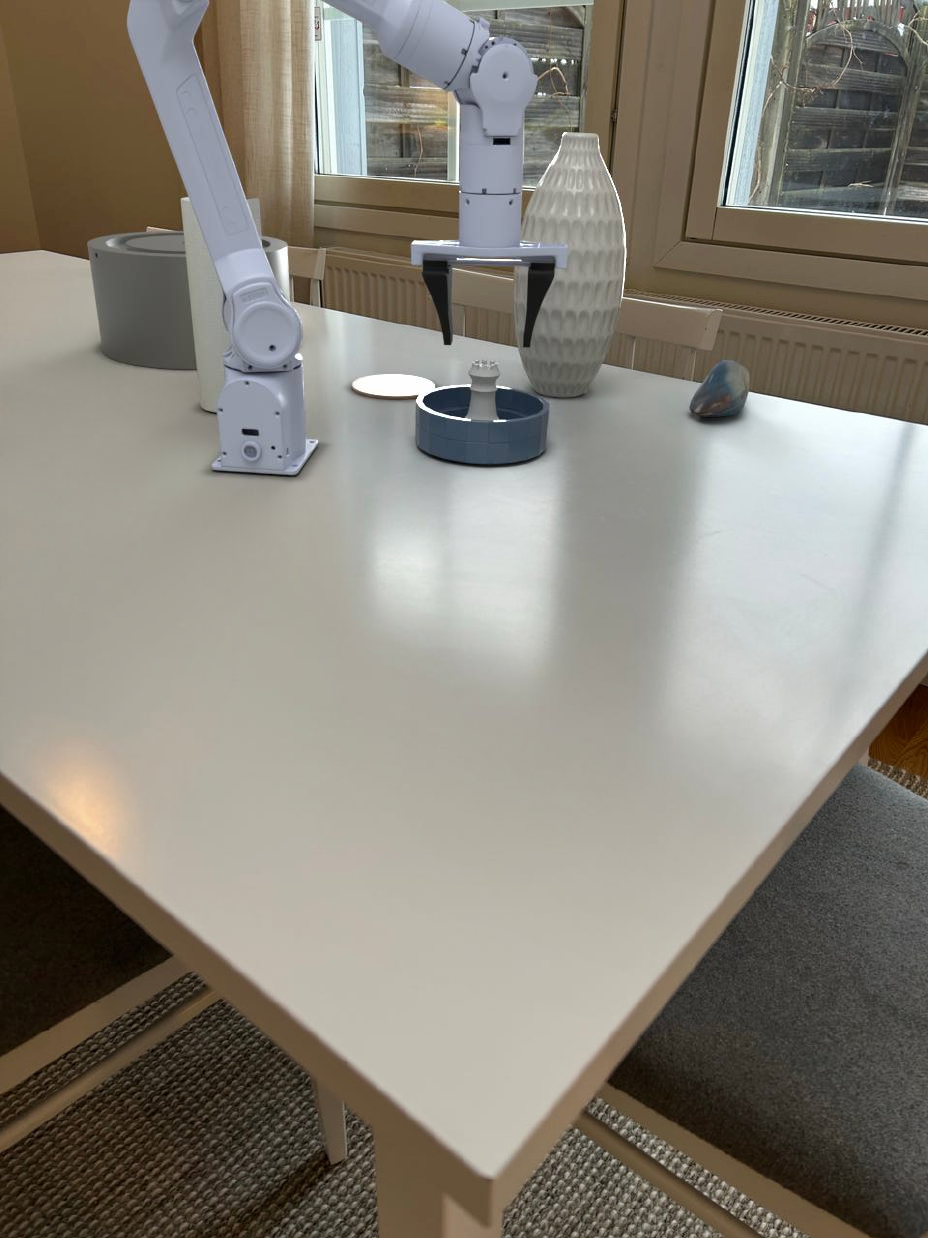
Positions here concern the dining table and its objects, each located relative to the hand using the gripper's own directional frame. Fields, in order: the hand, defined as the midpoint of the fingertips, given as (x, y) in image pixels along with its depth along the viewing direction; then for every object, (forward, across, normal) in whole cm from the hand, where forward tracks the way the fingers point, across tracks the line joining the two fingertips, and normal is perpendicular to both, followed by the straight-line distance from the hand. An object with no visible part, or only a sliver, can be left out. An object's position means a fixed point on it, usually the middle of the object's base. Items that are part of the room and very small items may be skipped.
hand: (487, 344), depth 93 cm
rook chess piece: (+10, 0, +1) cm, 10 cm away
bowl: (+10, 0, +1) cm, 10 cm away
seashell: (+11, -27, -16) cm, 33 cm away
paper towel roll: (+10, +28, -7) cm, 31 cm away
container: (+9, +41, -34) cm, 54 cm away
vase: (+11, -8, -22) cm, 25 cm away
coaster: (+10, +12, -19) cm, 25 cm away
